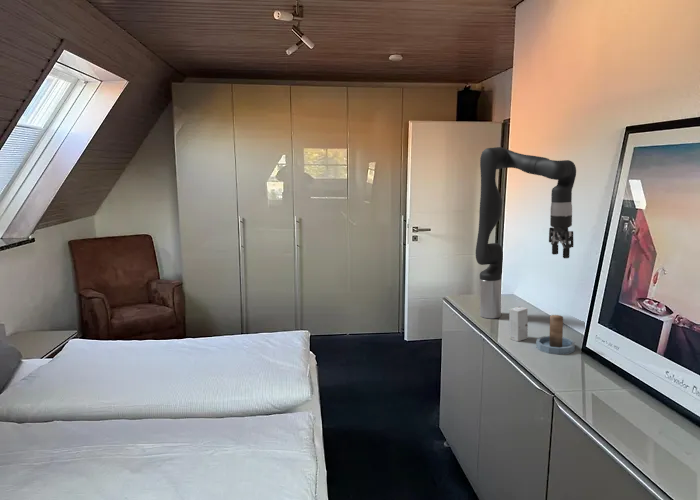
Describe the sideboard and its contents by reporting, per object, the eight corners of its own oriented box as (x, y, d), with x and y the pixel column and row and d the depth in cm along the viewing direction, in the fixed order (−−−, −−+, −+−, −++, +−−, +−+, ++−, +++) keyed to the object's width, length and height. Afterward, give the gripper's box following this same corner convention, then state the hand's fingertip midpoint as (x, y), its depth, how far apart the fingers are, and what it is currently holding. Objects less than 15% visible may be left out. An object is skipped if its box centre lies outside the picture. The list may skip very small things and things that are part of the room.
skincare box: (518, 341, 190) (518, 311, 188) (508, 338, 193) (508, 309, 191) (528, 338, 193) (528, 308, 191) (518, 335, 197) (518, 306, 195)
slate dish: (530, 342, 188) (530, 337, 187) (563, 340, 189) (563, 334, 188) (546, 355, 175) (546, 349, 175) (581, 352, 176) (581, 346, 176)
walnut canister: (547, 343, 184) (547, 315, 182) (558, 343, 184) (559, 314, 182) (553, 348, 179) (553, 319, 178) (564, 347, 180) (565, 318, 178)
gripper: (542, 213, 192) (542, 253, 195) (560, 216, 178) (560, 260, 181) (561, 211, 193) (560, 252, 195) (580, 215, 179) (579, 258, 181)
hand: (560, 256), depth 188 cm, fingers open, 8 cm apart
